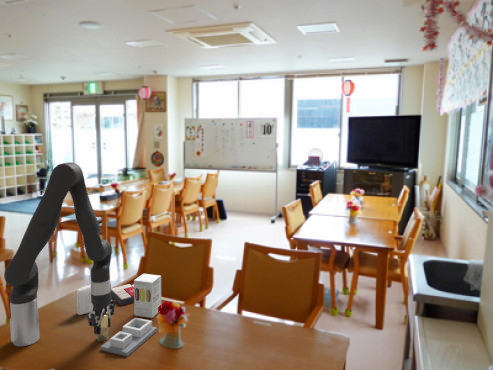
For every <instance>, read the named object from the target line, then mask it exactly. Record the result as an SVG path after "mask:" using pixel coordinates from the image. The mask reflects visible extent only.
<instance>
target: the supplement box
mask: <svg viewBox="0 0 493 370" xmlns="http://www.w3.org/2000/svg"><path fill="white" fill-rule="evenodd" d="M133 287H134V302H133V304H134V306H133V309H134V311H133V313H134V314H133V315H134V316H136V317H143V318H145V317H146V318H149V319H153V318H154V317H155V316H156V315H157V314H158V313H159V312H158V307H159V306H160V305H161V306H162V275H157V274H148V273H142V274H141V275H139V276H138V277H137V278H135V279H134V280H133Z"/></svg>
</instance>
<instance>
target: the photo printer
mask: <svg viewBox="0 0 493 370" xmlns="http://www.w3.org/2000/svg"><path fill="white" fill-rule="evenodd" d="M92 311H93V304H92V303H91V284H87V285H85V286H82V287H79V288H78V289H77V290H76V314H77V315H78V316H81V315H85V314H86V315H87V313H91V312H92Z"/></svg>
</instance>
